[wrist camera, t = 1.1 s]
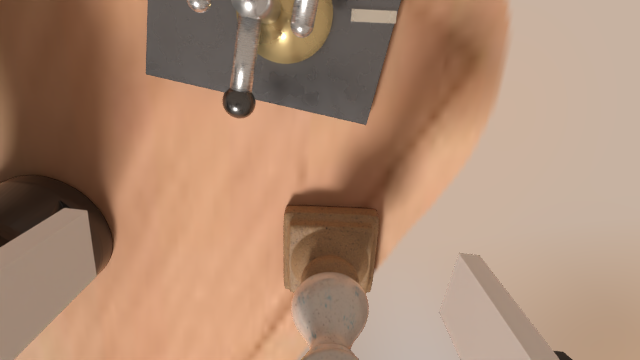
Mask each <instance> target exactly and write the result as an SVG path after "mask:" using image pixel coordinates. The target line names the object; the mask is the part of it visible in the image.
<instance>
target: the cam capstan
mask: <svg viewBox="0 0 640 360" xmlns="http://www.w3.org/2000/svg"><path fill="white" fill-rule="evenodd" d="M231 2H232V5H233V7H234V8H235V9H236V15H237V21H238V23H237V31H236V39H235V48H234V56H233V65H232V73H231V81H230V88H229V89H227V91H226V92H225V93H224V96H223V106H224V109H225V110H226V112H227V113H228V114H229V115H231V116H232V117H235V118H245V117H247V116H249V115H250V114H251V113H252V112H253V110H254V108H255V97H254V95H253V93H252V87H253V80H254V73H255V66H256V59H257V53H258V54H259V55H260V56H262V57H263V58H265V59H267V60H269V61H272V62H276V63H281V64H291V63H297V62H300V61H303V60H305V59H307V58H309V57H311V56H312V55H314V54H315V53H316V52H317V51H318V50H319V49H320V48H321V47H322V46H323V44H324V43H325V41H326V39H327V37H328V35H329V33H330V29H331V25H332V19H333V5H332V0H231ZM187 3H188V5H189V7H190V8H191V9H192V10H193V11H195V12H197V13H205V12H207V11H208V10H209V9H210V7H211V3H212V0H187Z"/></svg>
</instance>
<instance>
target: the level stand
mask: <svg viewBox="0 0 640 360" xmlns="http://www.w3.org/2000/svg"><path fill="white" fill-rule="evenodd" d="M400 2H401V0H332V5H333V19H332V25H331V29H330V33H329V35H328V37H327V39H326V41H325V43H324V44H323V46H322V47H321V48H320V49H319V50H318V51H317V52H316V53H315V54H314V55H312V56H311V57H309V58H307V59H305V60H303V61H300V62H297V63H291V64H281V63H276V62H272V61H269V60H267V59H265V58H263V57H262V56H260V55H259V54H258V53H257V59H256V66H255V73H254V80H253V87H252V93H253V95H254V97H255V99H256V100H260V101H264V102H269V103H273V104H277V105H282V106H286V107H291V108H295V109H299V110H304V111H308V112H312V113H317V114H321V115H325V116H330V117H334V118H338V119H343V120H347V121H351V122H356V123H360V124H364V125H366V123H367V120H368V116H369V113H370V109H371V106H372V102H373V98H374V95H375V91H376V88H377V84H378V81H379V77H380V73H381V70H382V66H383V63H384V59H385V56H386V52H387V48H388V45H389V41H390V38H391V34H392V31H393V27H394V24H396V16H397V13H398V9H399V6H400ZM237 23H238V21H237V15H236V9H235V8H234V7H233V5H232V2H231V0H212V3H211V7H210V9H209V10H208V11H207V12H205V13H197V12H195V11H193V10H192V9H191V8H190V7H189V5H188V3H187V0H148V15H147V51H146V74H147V75H152V76H156V77H160V78H165V79H169V80H173V81H178V82H182V83H186V84H191V85H195V86H199V87H204V88H208V89H212V90H217V91H221V92H226V91H227V89H229V88H230V81H231V73H232V65H233V56H234V48H235V39H236V31H237Z"/></svg>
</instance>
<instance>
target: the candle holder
mask: <svg viewBox="0 0 640 360" xmlns="http://www.w3.org/2000/svg"><path fill="white" fill-rule="evenodd" d="M378 228H379V218H378V214H377V210H375V209H369V208H354V207H331V206H308V205H289V206H287V207H286V210H285V214H284V285H285V288H286V289H290V291H291V292H294V295H293V298H292V304H291V312H292V318H293V321H294V324H295V326H296V328H297V330H298V332H299V333H300V334H301V336H302V337H303V338H304V340H305V341H306V342H307V344H308V346H309V348H310V350H309V351H308V352H307V353H306V355H305V356H304V357H303V358H302V359H301V360H359V359H358V358H357V357H356V356H355V355H354V353H353V352H352V351H351V350H350V349H351V347H352V344H353V343H354V341H355V340H356V339H357V338H358V336H359V335H360V333H361V332H362V330H363V329H364V327H365V324H366V322H367V318H368V312H369V310H368V309H369V305H368V300H367V296H366V293H367V292H370V290H371V286H372V281H373V273H374V264H375V255H376V247H377V238H378Z"/></svg>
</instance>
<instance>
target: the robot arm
mask: <svg viewBox="0 0 640 360" xmlns="http://www.w3.org/2000/svg"><path fill="white" fill-rule="evenodd" d="M111 253H112V236H111V232H110V229H109V227H108V224H107V222H106V220H105V218H104V217H103V215H102V214H101V212H100V211H99V210H98V208H97V207H96V206H95V205H94V204H93V203H92V202H91V201H90V200H89V199H88V198H87V197H86V196H84V195H83V194H82V193H80V192H79V191H77V190H76V189H74V188H73V187H71V186H69V185H67V184H65V183H63V182H60V181H58V180H55V179H52V178H48V177H43V176H34V175H26V176H19V177H15V178H11V179H9V180H6V181H4V182H1V183H0V360H14V359H15V358H16V357H17V356H18V355H19V354H20V353H21V352H22V351H23V350H24V349H25V348H26V347H27V346H28V345H29V344H30V343H31V342H32V341H33V340H34V339H35V338H36V337H37V336H38V335H39V334H40V333H41V332H42V331H43V330H44V329H45V328H46V327H47V326H48V325H49V324H50V323H51V322H52V321H53V320H54V319H55V318H56V317H57V316H58V315H59V314H60V313H61V312H62V311H63V310H64V309H65V308H66V307H67V306H68V304H69V303H70V302H71V301H72V300H73V299H74V298H75V297H76V296H77V295H78V294H79V293H80V292H81V291H82V290H83V289H84V288H85V287H86V286H87V285H88V284H89V283H90V282H91V281H92V280H93V279H94V278H95V277H96V276H97V275H98V274H99V273H100V272H101V271H102V270H103V269H104V268H105V266H106V265H107V263H108V262H109V260H110V257H111ZM439 313H440V315H441V318H442V320H443V322H444V324H445V327H446V329H447V331H448V333H449V335H450V338H451V340H452V342H453V344H454V347H455V349H456V351H457V353H458V355H459V357H460V360H572V359H571V358H570V357H569V356H567V355H566V354H565V353H564V352H559V351H553V350H552V349H551V348H550V346H549V345H548V344H547V342H546V341H545V340H544V338H543V337H542V336H541V335H540V334H539V332H538V331H537V329H536V328H535V327H534V326H533V324H532V323H531V322H530V320H529V319H528V318H527V317H526V315H525V314H524V313H523V311H522V310H521V309H520V307H519V306H518V305H517V303H516V302H515V301H514V299H513V298H512V297H511V296H510V294H509V293H508V292H507V290H506V289H505V288H504V287H503V285H502V284H501V283H500V281H499V280H498V279H497V277H496V276H495V275H494V274H493V272H492V271H491V270H490V269H489V267H488V266H487V265H486V263H485V262H484V261H483V259H482V258H481V257H480V255H472V254H463V253H459V255H458V257H457V260H456V263H455V266H454V269H453V272H452V275H451V278H450V281H449V284H448V287H447V290H446V293H445V296H444V299H443V302H442V305H441V308H440V311H439Z"/></svg>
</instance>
